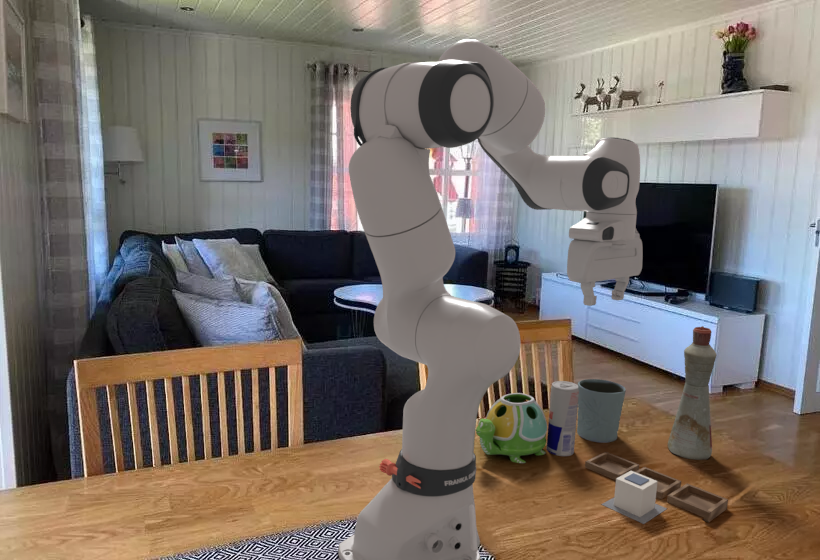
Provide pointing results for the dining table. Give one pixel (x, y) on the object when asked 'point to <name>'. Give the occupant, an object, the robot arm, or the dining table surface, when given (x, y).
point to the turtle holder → (513, 428)
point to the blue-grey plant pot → (599, 409)
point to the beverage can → (562, 418)
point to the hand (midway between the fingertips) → (603, 302)
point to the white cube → (635, 493)
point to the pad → (642, 519)
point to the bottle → (695, 401)
